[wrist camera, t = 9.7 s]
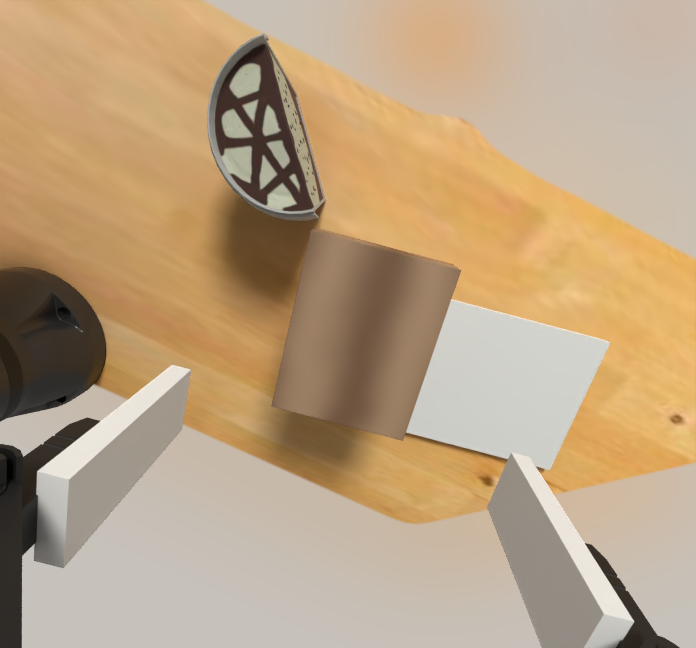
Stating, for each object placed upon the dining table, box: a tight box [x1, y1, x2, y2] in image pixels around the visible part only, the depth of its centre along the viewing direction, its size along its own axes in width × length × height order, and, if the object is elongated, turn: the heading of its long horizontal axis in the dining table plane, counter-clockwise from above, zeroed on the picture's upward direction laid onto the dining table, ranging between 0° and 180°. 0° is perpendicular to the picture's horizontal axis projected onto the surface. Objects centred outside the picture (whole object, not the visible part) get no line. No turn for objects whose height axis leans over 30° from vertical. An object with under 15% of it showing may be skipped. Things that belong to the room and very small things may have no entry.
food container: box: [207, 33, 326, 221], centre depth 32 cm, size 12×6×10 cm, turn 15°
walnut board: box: [272, 228, 461, 441], centre depth 29 cm, size 10×13×3 cm
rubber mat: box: [406, 299, 610, 470], centre depth 41 cm, size 16×15×1 cm
